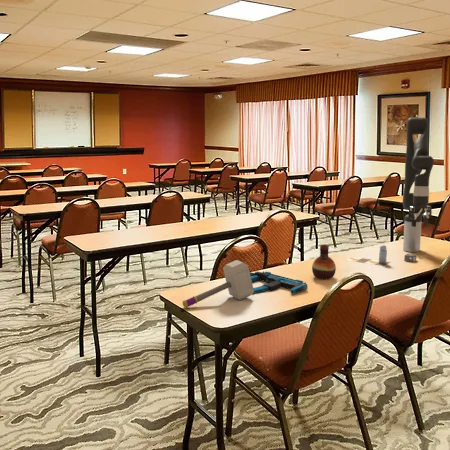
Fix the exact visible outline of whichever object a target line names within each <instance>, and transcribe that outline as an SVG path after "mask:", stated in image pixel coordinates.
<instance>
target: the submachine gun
mask: <svg viewBox="0 0 450 450" xmlns="http://www.w3.org/2000/svg"><path fill="white" fill-rule="evenodd" d="M249 272H250V276H251V280H252V283H253V282H257V281H263V282H265V284H262V285H259V286H257V287H253V289H254V293H253V294H252V295H255V294H258V293H262V292H266V291H273V290H276V289H277V288H280V287H282V288H285V289H288V290H290V294H291V295H295V294H298V293H301V292H306V291H307V290H308V284H307V282H305V281H304V280H299V279H292V278H290V277H286V276H282V275H277V274H275V273H272V272H270V271H255V272H252V271H249Z"/></svg>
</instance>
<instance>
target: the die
mask: <svg viewBox="0 0 450 450" xmlns="http://www.w3.org/2000/svg"><path fill="white" fill-rule="evenodd" d="M403 261H404V262H410V263H414V262H416V261H417V254H414V253H406V254H404V260H403Z"/></svg>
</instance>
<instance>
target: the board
mask: <svg viewBox="0 0 450 450" xmlns="http://www.w3.org/2000/svg"><path fill="white" fill-rule="evenodd" d="M347 261H348V262H349V261H350V262H356V263H362V264H369V265H374V266H381V267H384V266H386V265H388V264H390V263H391V261H386V264H379V259H378V260H377V259H371V258H365V257H357V256H353V257H350V258H348V259H347Z"/></svg>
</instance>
